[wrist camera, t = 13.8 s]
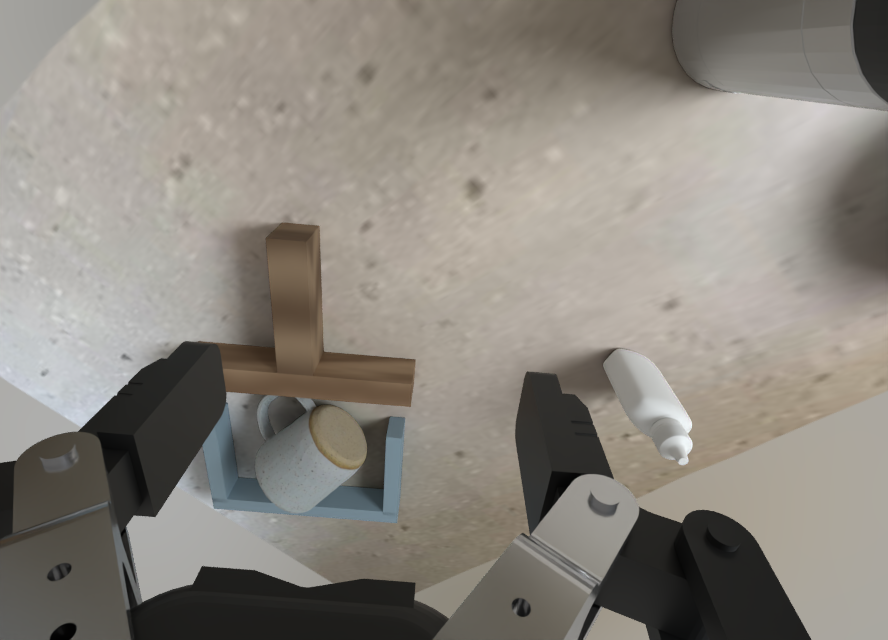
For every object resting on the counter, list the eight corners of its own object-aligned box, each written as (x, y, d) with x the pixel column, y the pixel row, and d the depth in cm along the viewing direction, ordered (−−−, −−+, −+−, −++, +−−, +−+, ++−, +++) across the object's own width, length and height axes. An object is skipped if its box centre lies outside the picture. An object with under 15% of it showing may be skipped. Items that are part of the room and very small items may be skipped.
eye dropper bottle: (619, 398, 47) (665, 496, 37) (597, 354, 45) (640, 446, 35) (663, 380, 46) (725, 476, 36) (643, 335, 44) (702, 422, 34)
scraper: (176, 212, 40) (149, 228, 36) (424, 235, 40) (420, 252, 37) (202, 363, 47) (181, 388, 43) (414, 380, 47) (410, 406, 44)
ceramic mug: (378, 429, 50) (365, 487, 43) (326, 470, 53) (305, 530, 46) (296, 363, 47) (268, 414, 40) (245, 410, 49) (210, 465, 43)
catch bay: (212, 401, 49) (198, 421, 46) (405, 417, 49) (402, 438, 46) (225, 486, 54) (214, 508, 51) (399, 500, 54) (396, 523, 52)
